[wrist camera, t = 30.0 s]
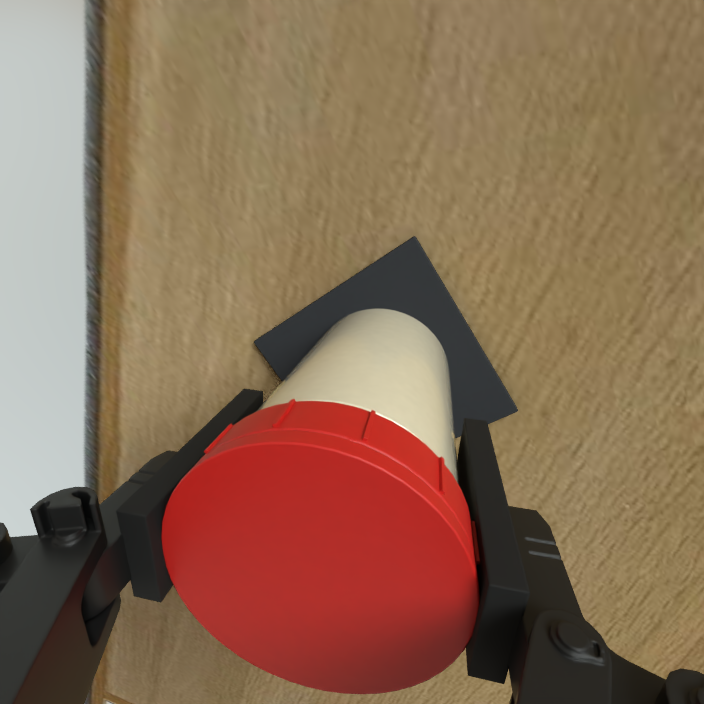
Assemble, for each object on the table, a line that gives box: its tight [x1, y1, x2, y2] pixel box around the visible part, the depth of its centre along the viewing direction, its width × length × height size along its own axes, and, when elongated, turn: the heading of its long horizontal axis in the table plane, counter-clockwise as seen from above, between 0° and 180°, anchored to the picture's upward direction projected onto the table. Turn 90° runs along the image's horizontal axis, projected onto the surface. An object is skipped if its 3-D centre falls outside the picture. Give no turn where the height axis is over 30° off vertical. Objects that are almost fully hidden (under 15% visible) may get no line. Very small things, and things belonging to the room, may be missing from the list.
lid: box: [161, 399, 480, 694], centre depth 10 cm, size 8×8×2 cm
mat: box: [254, 236, 518, 438], centre depth 20 cm, size 10×10×1 cm
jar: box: [256, 309, 459, 485], centre depth 15 cm, size 7×7×12 cm
